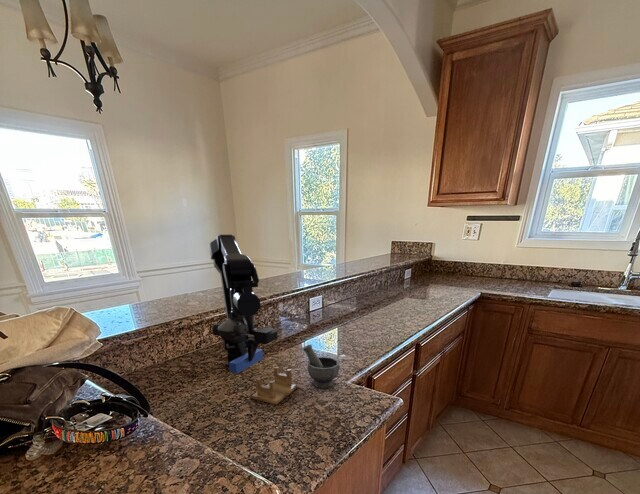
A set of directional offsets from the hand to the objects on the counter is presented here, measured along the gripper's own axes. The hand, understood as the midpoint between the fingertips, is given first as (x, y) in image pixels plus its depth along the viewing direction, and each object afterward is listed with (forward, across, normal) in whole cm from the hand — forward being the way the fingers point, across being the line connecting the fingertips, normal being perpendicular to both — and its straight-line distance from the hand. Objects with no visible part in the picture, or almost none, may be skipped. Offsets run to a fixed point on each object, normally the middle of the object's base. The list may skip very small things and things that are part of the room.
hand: (246, 360), depth 103 cm
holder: (+8, +10, -1) cm, 13 cm away
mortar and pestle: (+8, +19, +11) cm, 23 cm away
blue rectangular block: (+2, 0, 0) cm, 2 cm away
